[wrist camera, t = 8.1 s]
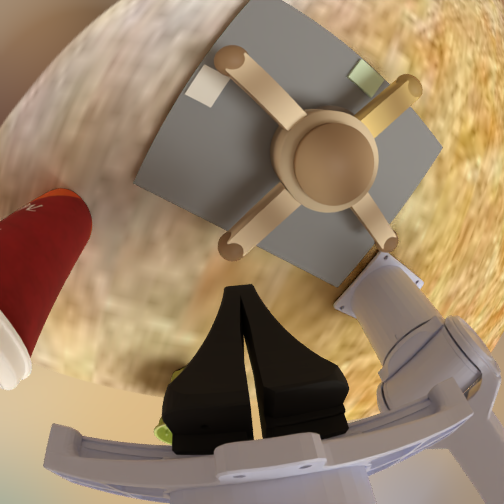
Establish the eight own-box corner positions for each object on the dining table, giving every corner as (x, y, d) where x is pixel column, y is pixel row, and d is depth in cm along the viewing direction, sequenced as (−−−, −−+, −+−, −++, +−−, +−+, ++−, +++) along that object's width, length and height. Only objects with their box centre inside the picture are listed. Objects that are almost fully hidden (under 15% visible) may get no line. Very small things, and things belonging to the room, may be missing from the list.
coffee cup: (46, 157, 17) (-89, 248, 4) (119, 206, 20) (25, 354, 7) (22, 233, 20) (-65, 341, 7) (85, 276, 23) (24, 411, 10)
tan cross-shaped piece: (297, 299, 25) (310, 332, 22) (124, 159, 17) (102, 174, 13) (443, 168, 20) (474, 183, 16) (317, -13, 12) (340, -34, 8)
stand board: (434, 144, 20) (444, 148, 19) (333, 280, 26) (338, 289, 25) (258, -6, 13) (261, -13, 12) (137, 178, 19) (131, 184, 18)
